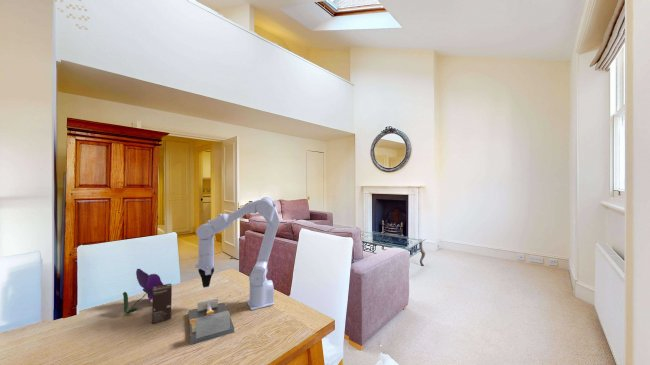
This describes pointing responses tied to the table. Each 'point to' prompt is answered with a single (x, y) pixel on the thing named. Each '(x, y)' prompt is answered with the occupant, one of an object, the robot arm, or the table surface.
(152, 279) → the flower
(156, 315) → the box
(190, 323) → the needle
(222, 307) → the sloped base with peg
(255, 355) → the table surface
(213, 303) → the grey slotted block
